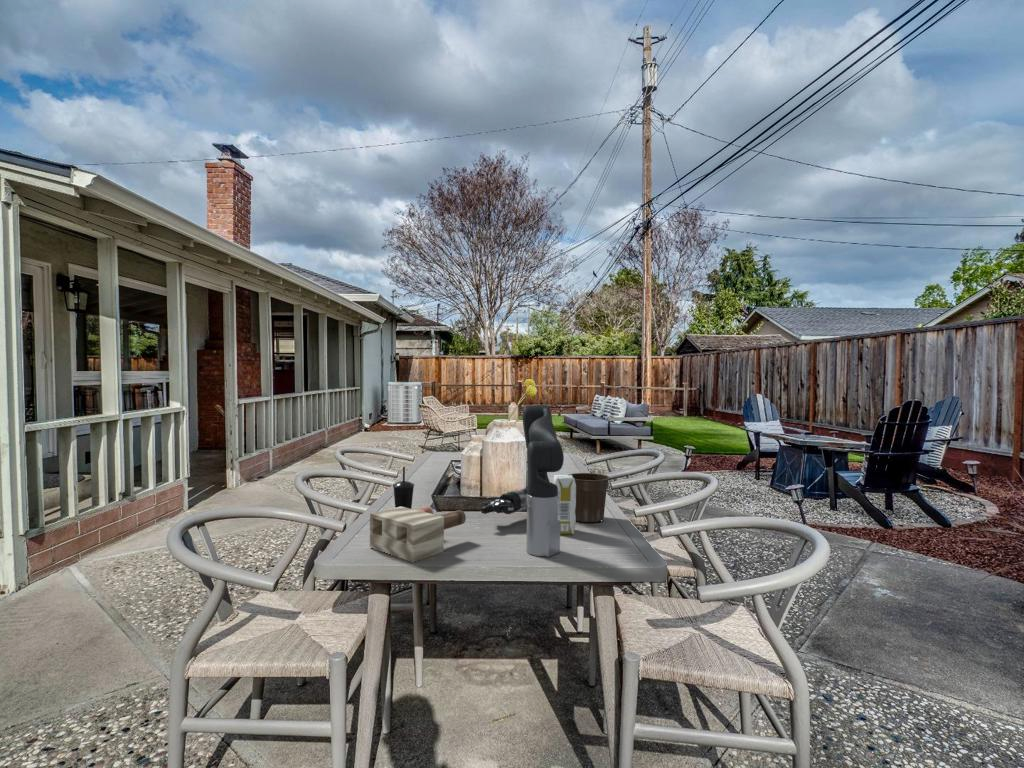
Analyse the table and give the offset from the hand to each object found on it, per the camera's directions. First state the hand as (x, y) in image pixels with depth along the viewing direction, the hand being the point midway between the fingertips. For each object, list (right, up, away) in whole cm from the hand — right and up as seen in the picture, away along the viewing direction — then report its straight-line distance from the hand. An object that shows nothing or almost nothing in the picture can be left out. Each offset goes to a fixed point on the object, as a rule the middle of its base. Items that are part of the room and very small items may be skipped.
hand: (483, 510), depth 175 cm
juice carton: (+28, -8, +1) cm, 29 cm away
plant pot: (+38, -8, +18) cm, 43 cm away
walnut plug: (-12, -2, -15) cm, 19 cm away
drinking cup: (-29, -7, +9) cm, 31 cm away
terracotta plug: (-23, -2, -12) cm, 26 cm away
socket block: (-22, -7, -21) cm, 31 cm away
